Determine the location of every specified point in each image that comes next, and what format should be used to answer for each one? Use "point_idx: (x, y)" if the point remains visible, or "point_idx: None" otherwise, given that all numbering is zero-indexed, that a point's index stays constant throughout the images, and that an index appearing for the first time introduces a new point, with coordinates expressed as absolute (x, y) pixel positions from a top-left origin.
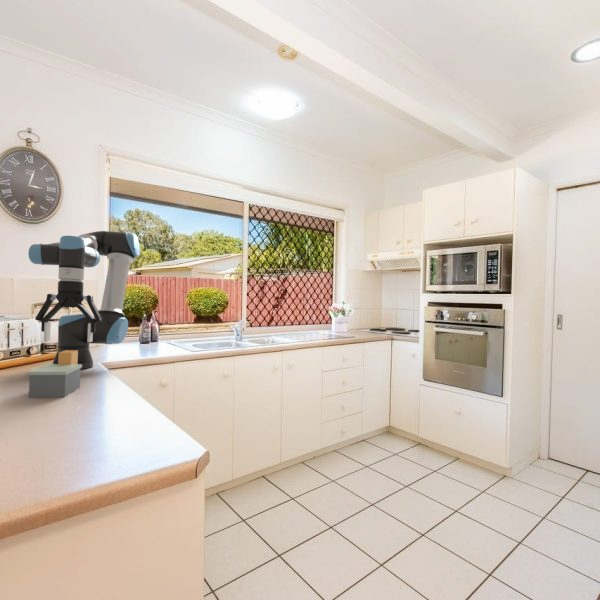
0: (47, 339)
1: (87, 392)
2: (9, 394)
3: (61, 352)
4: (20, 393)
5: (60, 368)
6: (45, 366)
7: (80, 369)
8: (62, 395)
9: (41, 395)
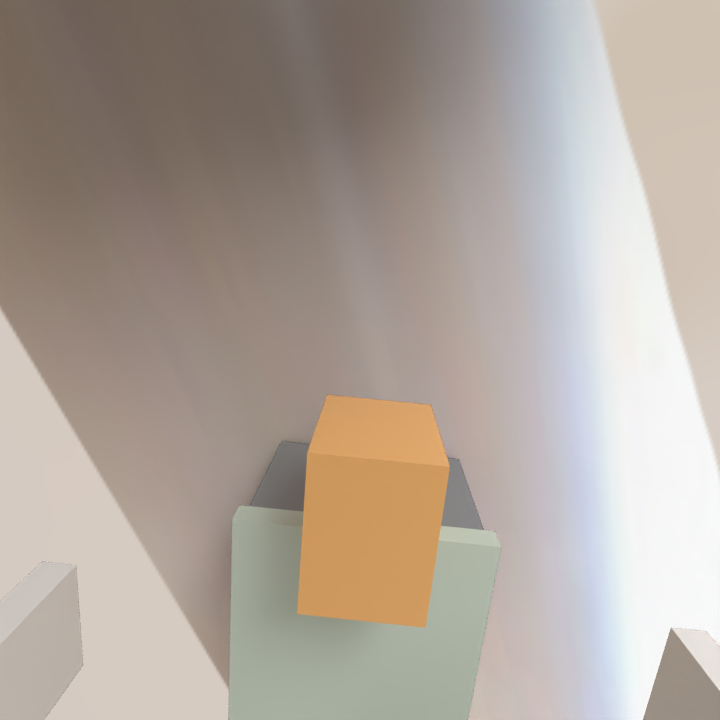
0: (61, 662)
1: (517, 551)
2: (151, 532)
3: (321, 606)
4: (192, 521)
5: (387, 686)
6: (255, 606)
7: (482, 527)
8: None
9: None
